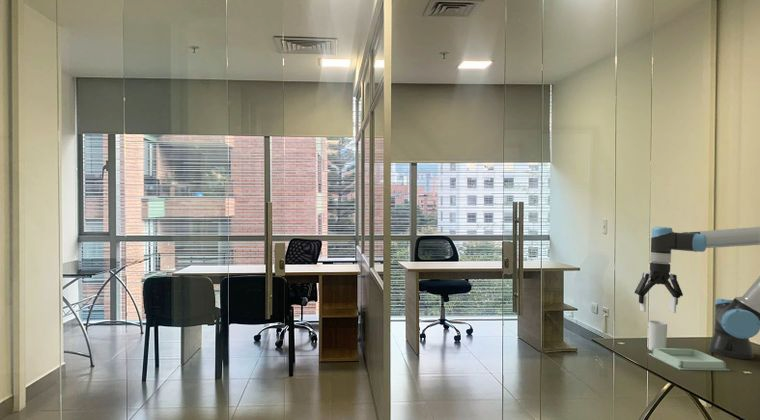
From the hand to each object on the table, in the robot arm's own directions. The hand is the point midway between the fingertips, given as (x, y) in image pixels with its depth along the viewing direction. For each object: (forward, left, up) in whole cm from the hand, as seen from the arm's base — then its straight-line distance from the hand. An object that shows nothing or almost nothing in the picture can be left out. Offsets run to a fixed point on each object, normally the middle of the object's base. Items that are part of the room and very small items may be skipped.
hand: (657, 311), depth 193 cm
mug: (0, 0, -17) cm, 17 cm away
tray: (-1, +16, -16) cm, 23 cm away
